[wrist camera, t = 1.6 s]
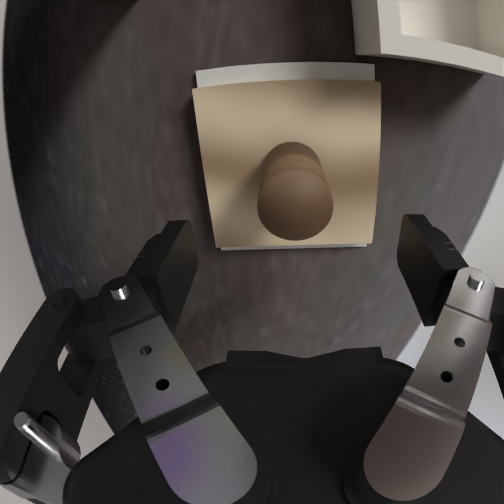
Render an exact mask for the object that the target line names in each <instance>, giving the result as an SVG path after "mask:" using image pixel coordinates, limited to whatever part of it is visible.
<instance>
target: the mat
mask: <svg viewBox="0 0 504 504" xmlns="http://www.w3.org/2000/svg"><path fill="white" fill-rule="evenodd" d="M287 79H349V80H370V81H375V68H374V64H364V63H344V62H287V63H266V64H252V65H241V66H231V67H222V68H214V69H207V70H200V71H196V80H197V87H204V86H212V85H221V84H230V83H240V82H252V81H266V80H287ZM363 246H367V243H365V244H325V245H288V246H252V247H221V250H251V249H288V248H325V247H363Z"/></svg>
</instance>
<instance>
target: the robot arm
mask: <svg viewBox="0 0 504 504" xmlns="http://www.w3.org/2000/svg"><path fill="white" fill-rule="evenodd" d="M397 262H398V266H399V269H400V271H401V273H402V275H403V277H404V280H405V282H406V284H407V286H408V289H409V291H410V293H411V295H412V298H413V300H414V302H415V305H416V307H417V310H418V312H419V315H420V317H421V319H422V322H423V324H424V326H434V325H436V326H435V328H434V330H433V332H432V335H431V337H430V339H429V341H428V343H427V345H426V348H425V349H424V352H423V354H422V356H421V358H420V360H419V362H418V364H417V366H416V367H415V369H414V368H412V367H410V366H408V365H406V364H404V363H402V362H399V361H396V360H392V359H388V358H383V355H382V351H381V347H368V348H353V349H342V350H339V351H335V352H331V353H327V354H323V355H319V356H315V357H311V358H299V357H293V356H288V355H283V354H278V353H273V352H268V351H228V353H227V359H226V362H222V363H218V364H214V365H211V366H208V367H206V368H203V369H201V370H199V371H197V372H195V371H194V369H193V368H192V366H191V364H190V363H189V361H188V360H187V358H186V356H185V355H184V353H183V352H182V350H181V348H180V347H179V345H178V343H177V342H176V340H175V338H174V337H173V335H172V333H171V332H170V331H172V332H175V329H176V326H177V323H178V321H179V318H180V315H181V312H182V309H183V307H184V304H185V301H186V298H187V296H188V293H189V290H190V288H191V285H192V282H193V279H194V277H195V274H196V271H197V266H198V258H197V252H196V247H195V242H194V237H193V232H192V227H191V223H190V221H189V220H176V221H169V222H168V223H167V225H166V226H165V228H164V229H163V231H162V232H161V234H156V235H155V236H154V237H152V238H151V239H150V240H148V241H147V243H146V244H145V246H144V247H143V249H142V251H141V252H140V253H139V255H138V257H137V258H136V259H135V261H134V262H133V264H132V266H131V267H130V269H129V270H128V272H127V274H126V275H125V276H121V277H118V278H115V279H113V280H111V281H109V282H108V283H106V284H105V285H104V286H103V287H102V288H101V290H100V292H99V296H96V297H91V298H86V299H82V300H80V297H79V295H78V293H77V291H76V290H74V289H72V288H64V289H60V290H58V291H56V292H54V293H52V294H51V295H50V296H49V297H48V298H47V299H46V300H45V301H44V303H43V304H42V306H41V307H40V309H39V310H38V312H37V313H36V315H35V316H34V318H33V319H32V321H31V322H30V324H29V325H28V327H27V329H26V330H25V332H24V333H23V335H22V337H21V338H20V340H19V342H18V343H17V345H16V346H15V348H14V350H13V351H12V353H11V355H10V357H9V358H8V360H7V362H6V364H5V365H4V367H3V369H2V371H1V372H0V485H1V486H3V487H4V488H6V489H7V490H9V491H11V492H12V493H14V494H16V495H18V496H19V497H21V498H24V499H27V500H29V501H31V502H32V503H35V504H504V440H503V439H502V438H501V437H500V436H498V435H497V434H496V433H494V432H493V431H492V430H491V429H490V428H488V427H487V426H486V425H485V424H484V423H482V422H481V421H480V420H479V419H477V418H476V417H475V416H474V415H472V414H471V413H470V412H469V411H468V408H469V405H470V403H471V400H472V397H473V394H474V391H475V388H476V385H477V382H478V378H479V375H480V372H481V368H482V365H483V361H484V357H485V354H486V351H487V354H488V356H489V359H490V361H491V364H492V367H493V369H494V372H495V375H496V378H497V380H498V383H499V386H500V389H501V392H502V395H503V398H504V288H499V287H495V283H494V281H493V279H492V278H491V277H490V276H489V275H488V274H487V273H485V272H484V271H482V270H480V269H476V268H472V267H469V266H468V264H467V263H466V262H465V260H464V259H463V257H462V256H461V254H460V253H459V252H458V250H456V248H455V246H454V245H453V244H452V243H451V241H450V240H449V238H448V237H447V236H446V234H445V233H443V232H442V231H440V230H439V229H437V228H436V227H433V226H432V225H431V224H430V222H429V221H428V220H427V218H426V217H425V216H424V215H422V214H405V215H404V216H403V219H402V224H401V230H400V237H399V243H398V249H397ZM64 346H65V348H66V349H67V351H68V352H69V353H68V355H67V357H66V359H65V361H64V363H63V365H62V368H61V370H60V371H59V370H58V364H57V363H58V358H59V355H60V353H61V351H62V350H63V347H64ZM112 357H115V358H116V361H117V363H118V366H119V369H120V372H121V374H122V377H123V380H124V382H125V385H126V387H127V390H128V392H129V395H130V397H131V400H132V402H133V405H134V407H135V409H136V412H137V414H138V417H137V418H136V419H135V420H133V421H132V422H131V423H129V424H128V425H127V426H125V427H124V428H123V429H121V430H120V431H119V432H117V433H116V434H115V435H113V436H112V437H111V438H109V439H108V440H107V441H106V442H104V443H103V444H101V445H100V446H99V447H97V448H96V449H95V450H93V451H92V452H90V453H89V454H88V455H86V456H85V457H84V458H82V459H81V460H80V455H81V452H80V447H79V444H78V442H77V439H78V436H79V433H80V430H81V427H82V423H83V421H84V418H85V415H86V412H87V410H88V407H89V404H90V401H91V399H92V396H93V393H94V391H95V388H96V385H97V383H98V380H99V377H100V375H101V372H102V370H103V367H104V365H105V362H106V360H107V358H112Z"/></svg>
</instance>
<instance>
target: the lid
mask: <svg viewBox="0 0 504 504" xmlns="http://www.w3.org/2000/svg"><path fill="white" fill-rule="evenodd" d="M192 93H193V100H194V108H195V115H196V122H197V129H198V136H199V143H200V150H201V157H202V163H203V170H204V177H205V183H206V189H207V196H208V202H209V208H210V214H211V220H212V226H213V232H214V238H215V244H216V248H218V247H252V246H288V245H325V244H365V243H372V238H373V229H374V220H375V211H376V200H377V188H378V174H379V158H380V135H381V82H378V81H370V80H349V79H287V80H266V81H252V82H240V83H230V84H221V85H212V86H204V87H197V88H194V89H192Z"/></svg>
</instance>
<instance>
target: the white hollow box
mask: <svg viewBox="0 0 504 504" xmlns="http://www.w3.org/2000/svg"><path fill="white" fill-rule="evenodd" d="M351 5H352V15H353V27H354V41H355V55H365V56H378V57H388V58H397V59H405V60H413V61H420V62H426V63H432V64H438V65H444V66H449V67H454V68H459V69H463V70H468V71H472V72H476V73H480V74H484V75H489V76H494V77H498V78H503V79H504V0H351Z"/></svg>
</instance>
